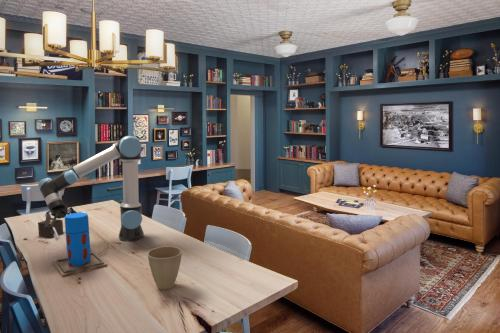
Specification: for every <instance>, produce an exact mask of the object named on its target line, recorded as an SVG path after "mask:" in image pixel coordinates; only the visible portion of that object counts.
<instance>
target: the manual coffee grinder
mask: <svg viewBox="0 0 500 333" xmlns="http://www.w3.org/2000/svg"><path fill="white" fill-rule="evenodd" d="M65 207H66V209H69V206H68V205H65ZM47 212H50V210H49V209H48V210H47ZM53 219H54V217H52V215H50V218H49V225H48V226H50V225H51V223H52V221H53ZM45 221H46V219H45V220H43V221H38V222H37V228H38V237H39V238H44V239H53V238H55V237H54V235H51V233H50V231H48V230H44V228H45ZM63 221H64V220H63V219H58V218H56V220H55V222H54V224H53V227H54V228H55V230H56V232H57V234H58V236H59V237H60V236H61V235H63V234H64V226H63V225H64V222H63ZM53 227H52V228H53Z"/></svg>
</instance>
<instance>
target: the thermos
mask: <svg viewBox="0 0 500 333" xmlns="http://www.w3.org/2000/svg"><path fill="white" fill-rule="evenodd" d="M89 223H90V222H89V215H88V213H86V212H77V213H73V214H71V213H70V214H68V215H67V214H66V216H65V217H64V227H65V230H64V231H65V242H66V258H68V264H69V266H73V267H77V266H83V265H86V264H88V263H90V261H91V253H92V252H91V241H90V224H89Z"/></svg>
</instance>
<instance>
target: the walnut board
mask: <svg viewBox="0 0 500 333" xmlns="http://www.w3.org/2000/svg"><path fill="white" fill-rule="evenodd" d="M90 253H91V261H90V263H88V264H86V265H83V266H77V267H73V266H69V264H68V258H67V257H64V258H60V259H56V260H55V261H52V265H53V266H54V268H55V269H56V271H57V272H58V274H59V275H60V276H61V277H62V278H65V277H69V276H73V275H76V274H82V273H85V272H89V271H93V270H99V269H103V268H106V267H108V263H107V262H106V261H105V260H103V259H102V258H101V257H100V255H99V254H97V253H96V252H93V251H92V252H90Z"/></svg>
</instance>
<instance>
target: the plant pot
mask: <svg viewBox="0 0 500 333" xmlns="http://www.w3.org/2000/svg"><path fill="white" fill-rule="evenodd" d="M147 259H148V264H149V268H150V272H151V276H152V278H153V281H154V283H155V285H156V287H157V288H158V289H159V290H170V289H172V288H173V287H174V285H175V283H176V280H177V278H178V274H179V271H180V266H181V261H182V249H181V248H179V247H176V246H167V245H166V246H158V247H155V248H152V249H150V250H148V252H147Z"/></svg>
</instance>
